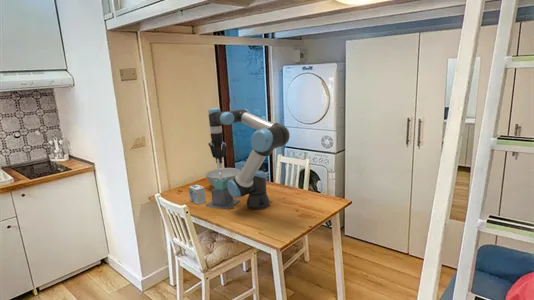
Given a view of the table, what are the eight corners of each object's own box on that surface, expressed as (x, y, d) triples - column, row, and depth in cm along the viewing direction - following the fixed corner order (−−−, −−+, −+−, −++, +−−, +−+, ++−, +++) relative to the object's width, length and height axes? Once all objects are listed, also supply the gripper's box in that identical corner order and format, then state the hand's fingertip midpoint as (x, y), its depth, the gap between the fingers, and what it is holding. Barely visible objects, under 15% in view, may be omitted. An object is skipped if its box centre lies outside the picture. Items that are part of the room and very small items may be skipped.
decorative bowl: (203, 186, 264) (201, 171, 261) (235, 180, 274) (233, 166, 272) (212, 196, 240) (211, 180, 237) (247, 188, 250) (245, 173, 248)
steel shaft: (224, 194, 222) (222, 171, 219) (222, 195, 220) (220, 172, 216) (221, 193, 223) (219, 170, 220) (219, 195, 221) (217, 171, 218)
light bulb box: (190, 201, 233) (188, 186, 230) (198, 198, 237) (197, 184, 234) (197, 204, 225) (195, 189, 222) (206, 202, 229) (204, 187, 226)
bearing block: (240, 201, 225) (238, 186, 223) (229, 209, 213) (227, 193, 211) (217, 199, 233) (216, 183, 231) (206, 206, 221) (204, 190, 218)
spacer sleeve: (228, 187, 222) (227, 178, 221) (223, 190, 216) (222, 181, 215) (220, 186, 225) (219, 177, 223) (214, 189, 219) (214, 180, 218)
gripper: (204, 133, 212) (208, 168, 217) (221, 133, 207) (225, 170, 212) (211, 131, 219) (214, 165, 224) (228, 131, 213) (231, 167, 218)
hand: (219, 167), depth 218 cm, fingers closed
